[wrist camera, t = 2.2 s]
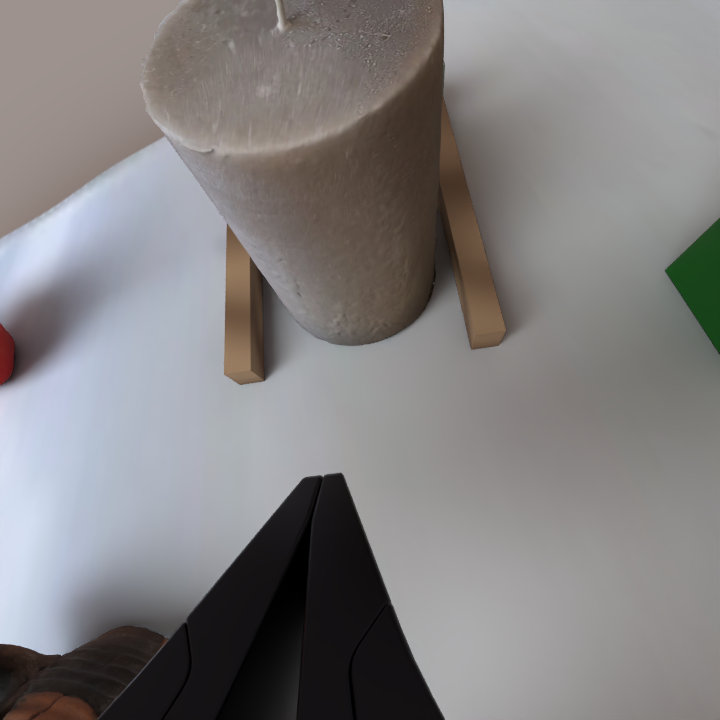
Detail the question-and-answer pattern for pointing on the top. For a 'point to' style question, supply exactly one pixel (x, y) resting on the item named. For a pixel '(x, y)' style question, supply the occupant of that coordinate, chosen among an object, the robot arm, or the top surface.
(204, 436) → the top surface
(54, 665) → the pottery mug
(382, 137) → the pillar candle
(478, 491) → the top surface
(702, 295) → the milk carton
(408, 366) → the top surface
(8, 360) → the apple
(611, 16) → the top surface
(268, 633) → the robot arm
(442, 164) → the channel
